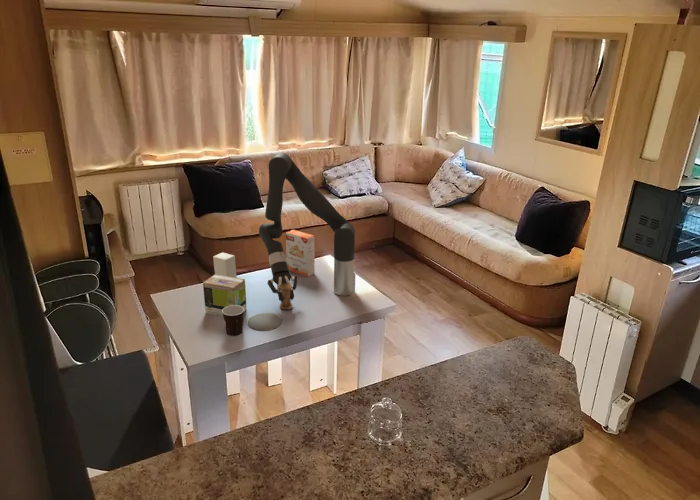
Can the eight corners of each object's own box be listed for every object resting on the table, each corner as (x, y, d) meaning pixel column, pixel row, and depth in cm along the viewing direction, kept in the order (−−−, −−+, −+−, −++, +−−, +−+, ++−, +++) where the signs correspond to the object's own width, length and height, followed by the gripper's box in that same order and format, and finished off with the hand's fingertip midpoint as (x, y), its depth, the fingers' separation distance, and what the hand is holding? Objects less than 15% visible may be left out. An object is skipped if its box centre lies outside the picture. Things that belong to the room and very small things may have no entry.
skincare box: (237, 285, 258) (235, 255, 252) (227, 290, 252) (225, 260, 247) (224, 281, 262) (222, 251, 256) (214, 286, 257) (212, 255, 251)
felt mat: (276, 311, 235) (276, 310, 235) (285, 327, 223) (285, 326, 223) (244, 317, 229) (244, 316, 229) (252, 333, 218) (252, 332, 217)
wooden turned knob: (290, 302, 242) (289, 281, 238) (294, 308, 237) (293, 287, 233) (278, 304, 239) (277, 283, 236) (281, 310, 235) (281, 289, 231)
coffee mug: (226, 326, 222) (225, 304, 218) (247, 327, 222) (246, 305, 218) (219, 341, 211) (217, 318, 208) (241, 342, 211) (239, 319, 207)
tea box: (247, 309, 236) (245, 278, 231) (235, 319, 227) (233, 288, 222) (217, 303, 241) (215, 273, 235) (204, 313, 232) (202, 282, 226)
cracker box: (286, 270, 275) (285, 232, 267) (293, 266, 280) (293, 228, 272) (307, 277, 268) (307, 238, 260) (315, 273, 272) (315, 234, 265)
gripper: (264, 263, 235) (272, 300, 229) (295, 258, 240) (304, 294, 234) (261, 269, 241) (270, 305, 236) (292, 265, 247) (301, 300, 241)
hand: (287, 299), depth 235 cm, fingers closed on wooden turned knob, 4 cm apart
